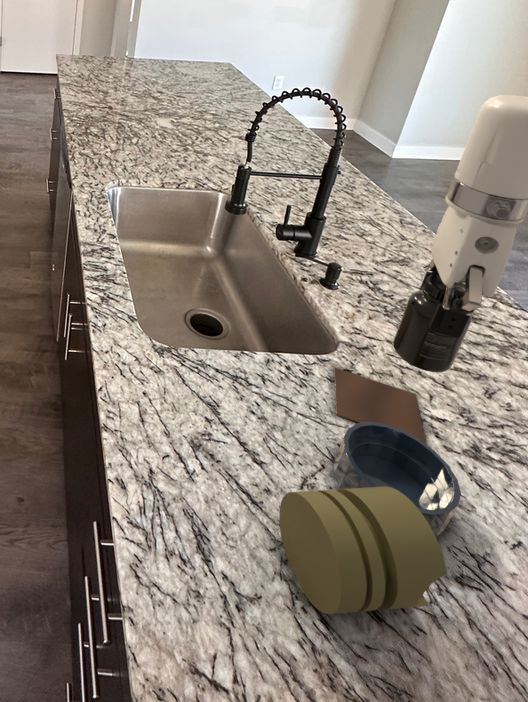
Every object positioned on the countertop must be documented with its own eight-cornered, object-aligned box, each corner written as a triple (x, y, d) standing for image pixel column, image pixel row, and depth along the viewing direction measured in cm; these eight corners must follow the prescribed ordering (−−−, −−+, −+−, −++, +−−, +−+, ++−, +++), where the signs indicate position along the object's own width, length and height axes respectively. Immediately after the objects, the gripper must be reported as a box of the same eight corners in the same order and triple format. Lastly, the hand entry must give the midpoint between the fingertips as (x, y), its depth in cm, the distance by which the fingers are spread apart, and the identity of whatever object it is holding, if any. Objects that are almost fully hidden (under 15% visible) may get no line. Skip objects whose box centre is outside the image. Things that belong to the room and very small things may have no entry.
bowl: (435, 472, 77) (448, 446, 75) (455, 561, 66) (471, 533, 64) (332, 434, 83) (341, 408, 80) (334, 510, 72) (346, 483, 70)
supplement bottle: (458, 360, 74) (491, 290, 69) (439, 382, 70) (472, 309, 65) (403, 331, 79) (430, 263, 74) (382, 350, 75) (409, 281, 71)
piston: (425, 627, 60) (462, 567, 55) (323, 636, 59) (353, 575, 54) (358, 523, 70) (385, 465, 66) (271, 529, 69) (292, 470, 65)
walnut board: (414, 396, 90) (415, 394, 89) (425, 449, 81) (426, 446, 80) (333, 369, 95) (334, 367, 94) (335, 416, 86) (336, 413, 85)
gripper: (556, 241, 56) (491, 369, 63) (503, 176, 70) (455, 287, 78) (468, 223, 59) (415, 348, 66) (434, 165, 73) (394, 272, 81)
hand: (437, 314), depth 72 cm, fingers closed on supplement bottle, 6 cm apart
